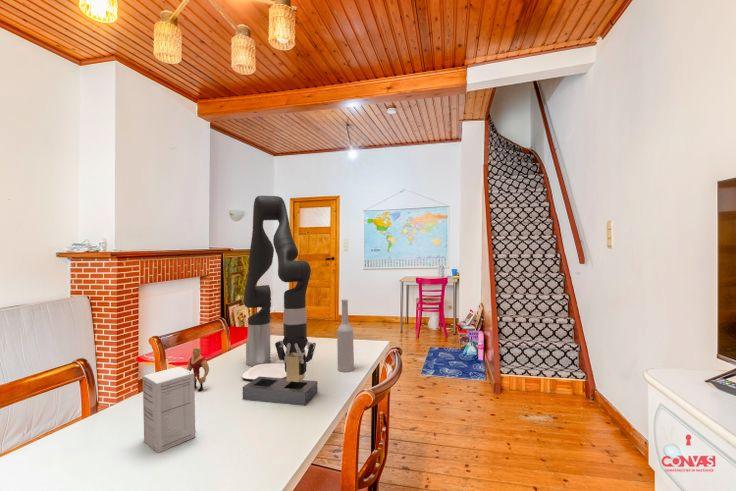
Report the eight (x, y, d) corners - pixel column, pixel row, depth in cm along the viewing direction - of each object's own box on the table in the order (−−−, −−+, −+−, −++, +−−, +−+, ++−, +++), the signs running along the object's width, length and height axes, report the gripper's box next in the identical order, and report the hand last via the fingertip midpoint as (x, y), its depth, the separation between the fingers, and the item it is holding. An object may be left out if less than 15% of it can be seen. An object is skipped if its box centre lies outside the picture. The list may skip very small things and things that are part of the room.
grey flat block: (242, 399, 116) (242, 387, 116) (259, 387, 126) (259, 376, 126) (305, 405, 111) (305, 392, 111) (317, 393, 120) (317, 381, 121)
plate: (298, 367, 149) (298, 363, 149) (284, 383, 131) (284, 379, 131) (256, 366, 150) (256, 362, 150) (236, 382, 132) (236, 378, 132)
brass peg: (286, 381, 115) (286, 356, 116) (292, 376, 120) (292, 352, 120) (298, 382, 114) (298, 357, 114) (304, 377, 119) (304, 353, 119)
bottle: (353, 371, 141) (352, 300, 141) (336, 372, 141) (335, 301, 142) (354, 366, 148) (353, 298, 148) (338, 366, 148) (337, 298, 148)
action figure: (181, 389, 125) (181, 346, 125) (190, 386, 129) (189, 344, 129) (202, 393, 122) (202, 349, 122) (210, 389, 125) (210, 346, 126)
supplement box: (181, 426, 99) (180, 365, 99) (196, 437, 93) (196, 372, 93) (142, 441, 91) (141, 374, 91) (156, 453, 85) (156, 383, 86)
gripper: (269, 322, 116) (270, 376, 115) (310, 324, 112) (311, 379, 112) (280, 318, 123) (281, 368, 123) (319, 319, 119) (320, 371, 119)
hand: (295, 373), depth 117 cm, fingers closed on brass peg, 4 cm apart
